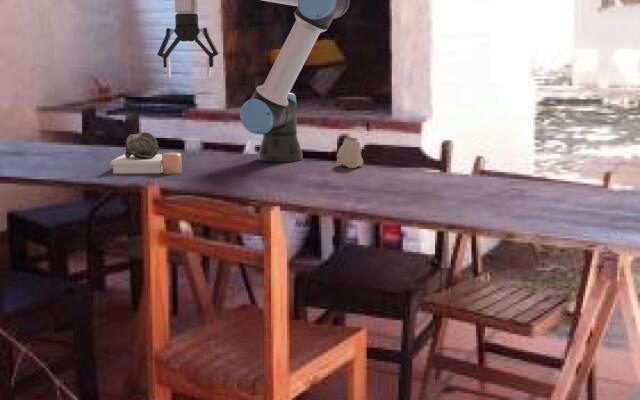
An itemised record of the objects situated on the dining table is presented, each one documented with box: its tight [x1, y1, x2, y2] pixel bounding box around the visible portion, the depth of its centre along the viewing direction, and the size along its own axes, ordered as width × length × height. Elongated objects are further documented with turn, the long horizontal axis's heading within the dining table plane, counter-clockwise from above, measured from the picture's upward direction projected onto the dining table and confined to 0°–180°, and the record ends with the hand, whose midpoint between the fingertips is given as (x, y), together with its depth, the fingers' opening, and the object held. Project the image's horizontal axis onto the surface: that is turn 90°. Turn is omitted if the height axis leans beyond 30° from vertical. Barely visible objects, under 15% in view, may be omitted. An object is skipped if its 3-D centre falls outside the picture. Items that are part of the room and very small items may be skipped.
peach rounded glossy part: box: [161, 152, 183, 175], centre depth 292 cm, size 6×6×6 cm
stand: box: [110, 153, 163, 175], centre depth 299 cm, size 16×16×4 cm
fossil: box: [124, 131, 160, 159], centre depth 298 cm, size 11×9×10 cm
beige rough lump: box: [336, 137, 364, 169], centre depth 299 cm, size 9×8×10 cm
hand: (189, 77), depth 311 cm, fingers open, 13 cm apart
